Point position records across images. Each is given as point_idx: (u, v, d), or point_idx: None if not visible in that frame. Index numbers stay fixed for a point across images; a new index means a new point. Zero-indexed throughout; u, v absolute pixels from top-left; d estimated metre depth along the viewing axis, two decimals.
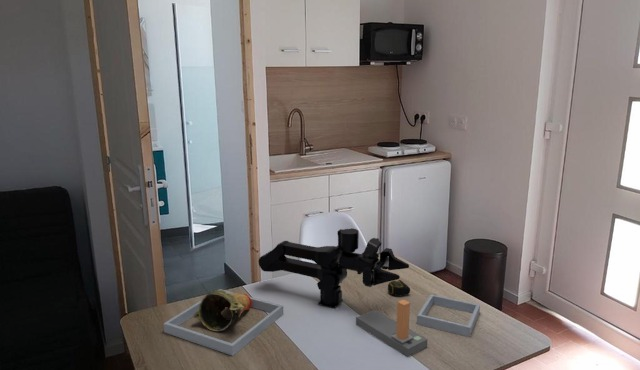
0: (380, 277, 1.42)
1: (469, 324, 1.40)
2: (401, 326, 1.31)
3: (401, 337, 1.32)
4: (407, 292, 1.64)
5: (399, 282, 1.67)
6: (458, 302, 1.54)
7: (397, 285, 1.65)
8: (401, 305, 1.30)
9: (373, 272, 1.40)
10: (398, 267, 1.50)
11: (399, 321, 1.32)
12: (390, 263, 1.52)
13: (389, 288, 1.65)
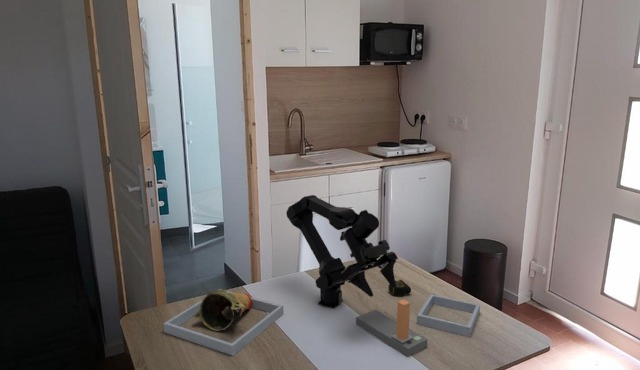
0: (358, 280, 1.37)
1: (469, 324, 1.40)
2: (401, 326, 1.31)
3: (401, 337, 1.32)
4: (408, 292, 1.64)
5: (400, 282, 1.67)
6: (458, 302, 1.54)
7: (398, 285, 1.65)
8: (401, 305, 1.30)
9: (354, 275, 1.34)
10: (387, 278, 1.42)
11: (399, 321, 1.32)
12: (384, 269, 1.43)
13: (390, 288, 1.65)
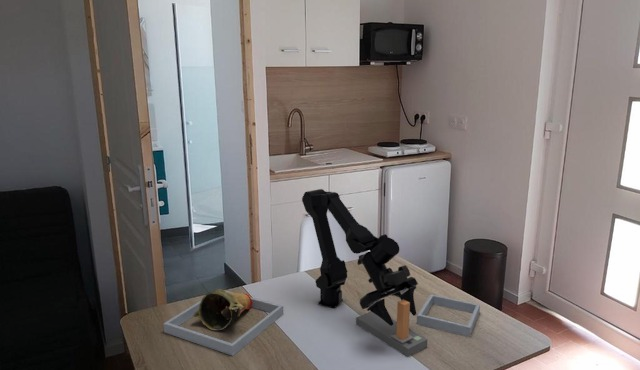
0: (378, 308, 1.31)
1: (469, 324, 1.40)
2: (401, 326, 1.31)
3: (401, 337, 1.32)
4: None
5: None
6: (458, 302, 1.54)
7: None
8: (401, 305, 1.30)
9: (373, 303, 1.29)
10: None
11: (399, 321, 1.32)
12: (404, 295, 1.38)
13: None
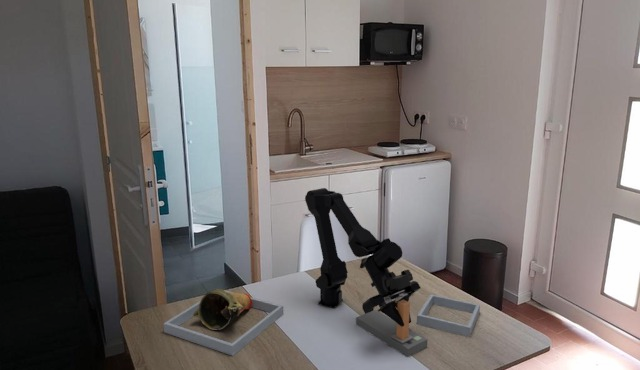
0: (388, 309, 1.33)
1: (469, 324, 1.40)
2: None
3: (401, 337, 1.32)
4: None
5: None
6: (458, 302, 1.54)
7: None
8: (401, 305, 1.30)
9: (385, 304, 1.30)
10: None
11: None
12: None
13: None
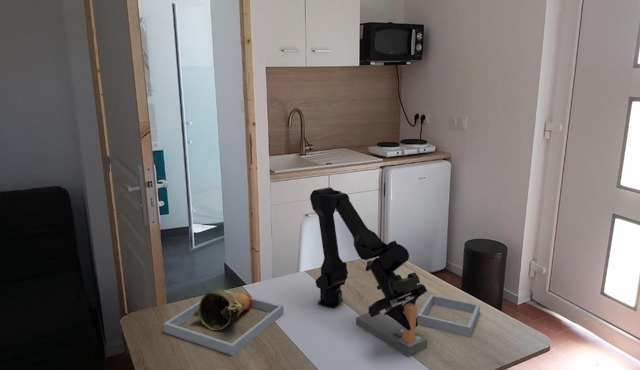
0: (395, 313, 1.31)
1: (469, 324, 1.40)
2: None
3: (408, 341, 1.30)
4: None
5: None
6: (458, 302, 1.54)
7: None
8: (408, 309, 1.28)
9: (391, 308, 1.28)
10: None
11: None
12: None
13: None
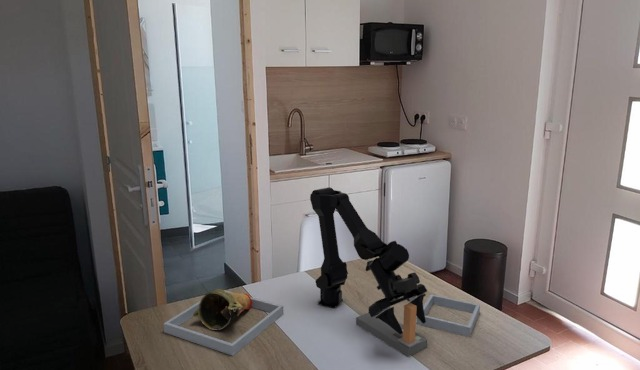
0: (386, 316, 1.29)
1: (469, 324, 1.40)
2: (408, 330, 1.29)
3: (408, 341, 1.30)
4: None
5: None
6: (458, 302, 1.54)
7: None
8: (408, 309, 1.28)
9: (383, 311, 1.26)
10: (416, 313, 1.34)
11: (406, 325, 1.30)
12: (413, 302, 1.35)
13: None
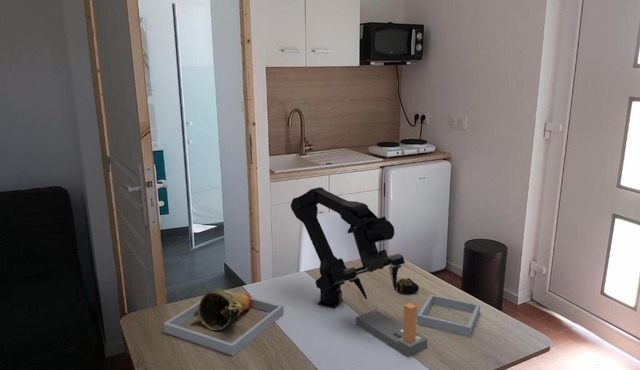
0: None
1: (469, 324, 1.40)
2: (408, 330, 1.29)
3: (408, 341, 1.30)
4: (416, 290, 1.65)
5: (408, 280, 1.69)
6: (458, 302, 1.54)
7: (406, 283, 1.67)
8: (408, 309, 1.28)
9: (349, 280, 1.40)
10: (391, 278, 1.43)
11: (406, 325, 1.30)
12: (390, 269, 1.43)
13: (398, 286, 1.66)
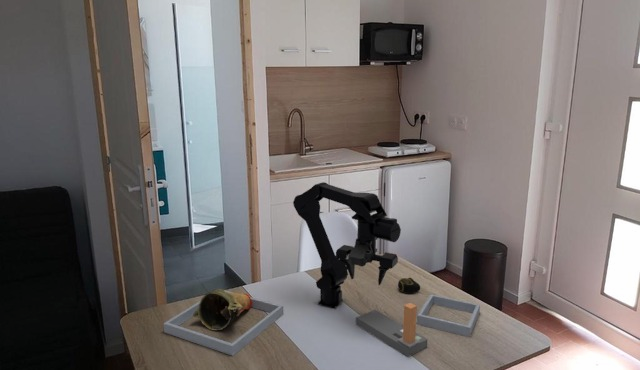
0: None
1: (469, 324, 1.40)
2: (408, 330, 1.29)
3: (408, 341, 1.30)
4: (417, 289, 1.66)
5: (409, 279, 1.69)
6: (458, 302, 1.54)
7: (407, 282, 1.67)
8: (408, 309, 1.28)
9: None
10: None
11: (406, 325, 1.30)
12: None
13: (399, 285, 1.67)
